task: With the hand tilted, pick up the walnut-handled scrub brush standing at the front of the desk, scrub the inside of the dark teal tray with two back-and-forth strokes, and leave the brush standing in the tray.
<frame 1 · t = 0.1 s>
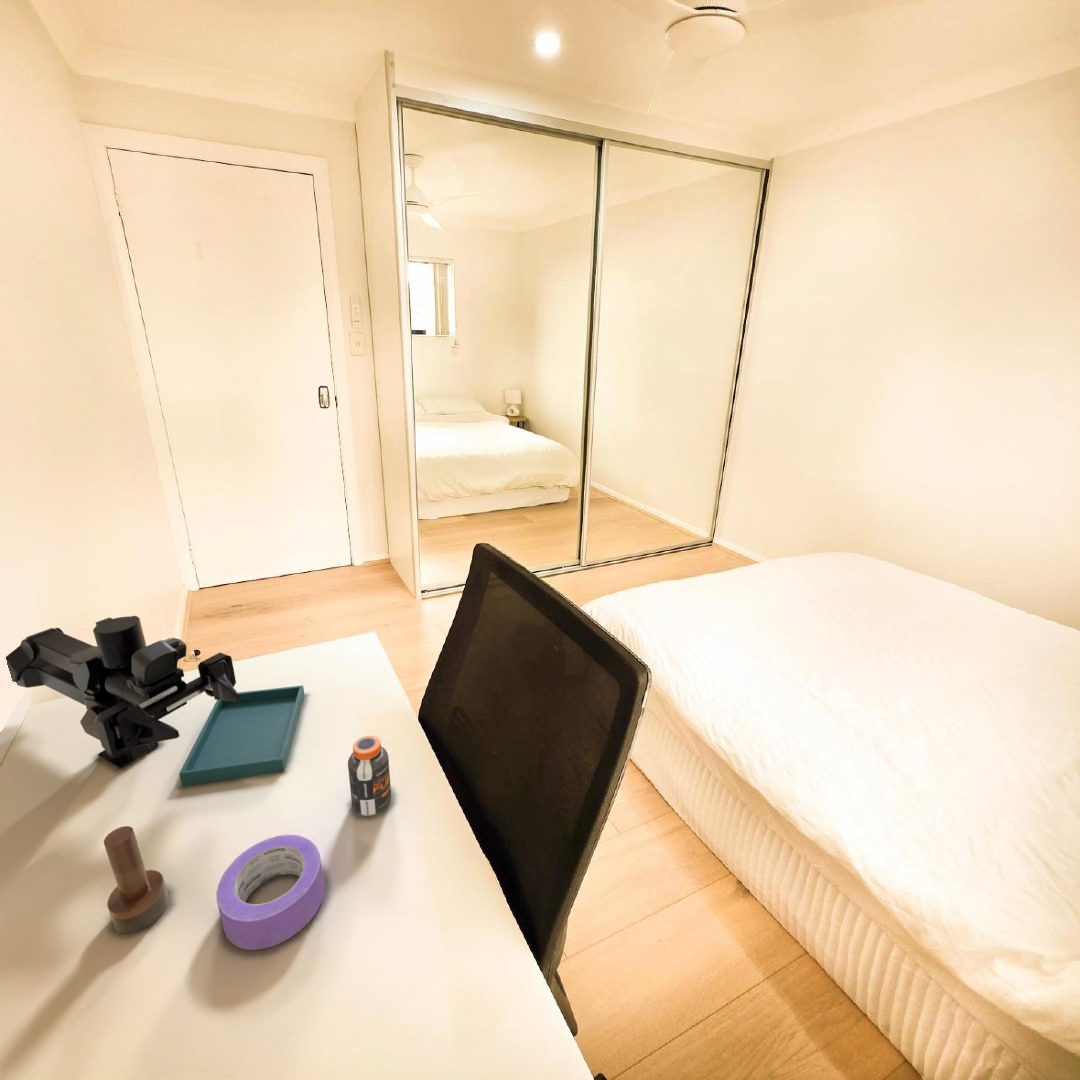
hand: (209, 715, 77), 17 cm above the table, tool horizontal, fingers open, 9 cm apart
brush: (142, 910, 67), on the table
pill bottle: (372, 802, 84), on the table
tray: (250, 735, 97), on the table
tape roll: (275, 903, 68), on the table
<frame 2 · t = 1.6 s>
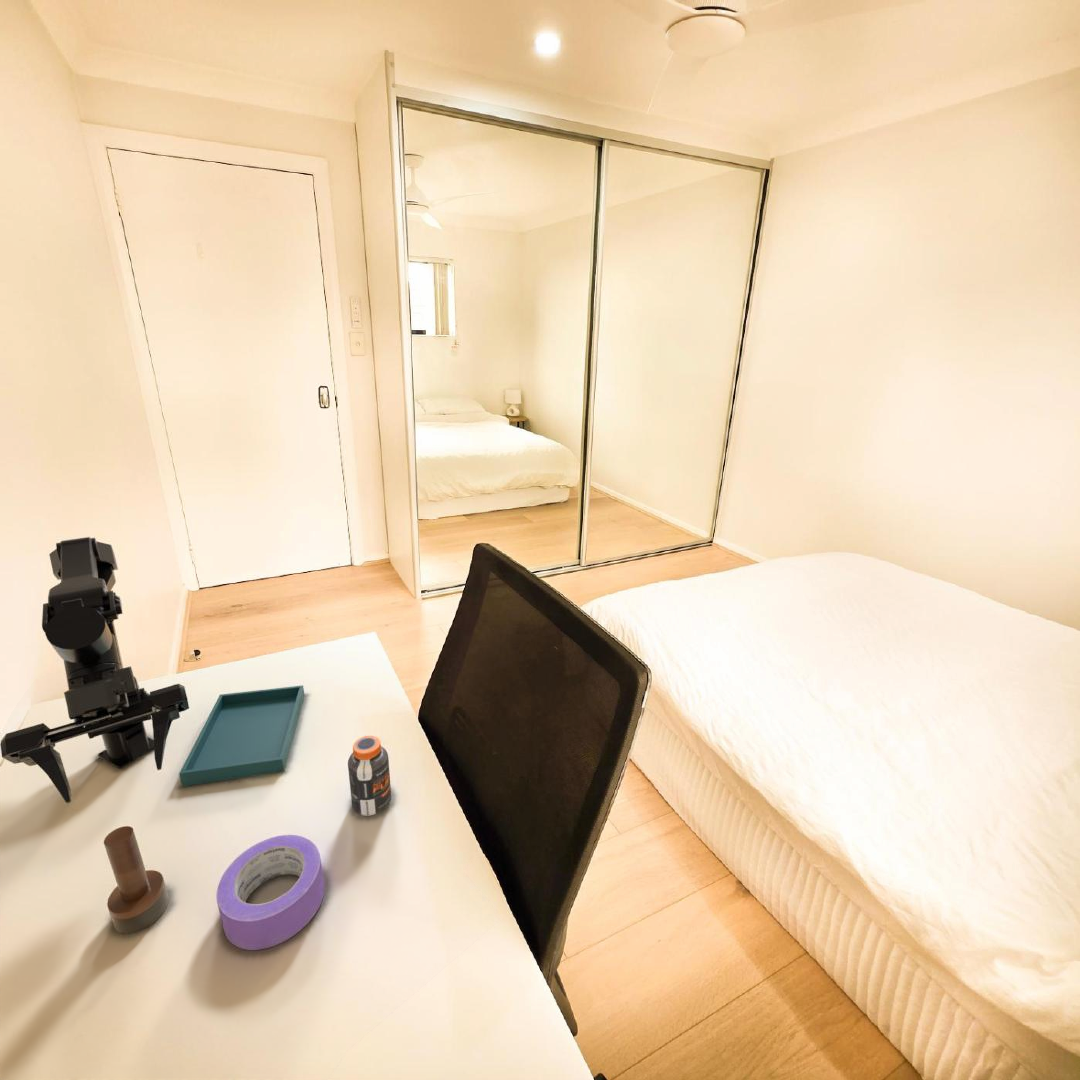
hand: (116, 785, 68), 14 cm above the table, tool tilted 45°, fingers open, 9 cm apart
nothing on the table moved.
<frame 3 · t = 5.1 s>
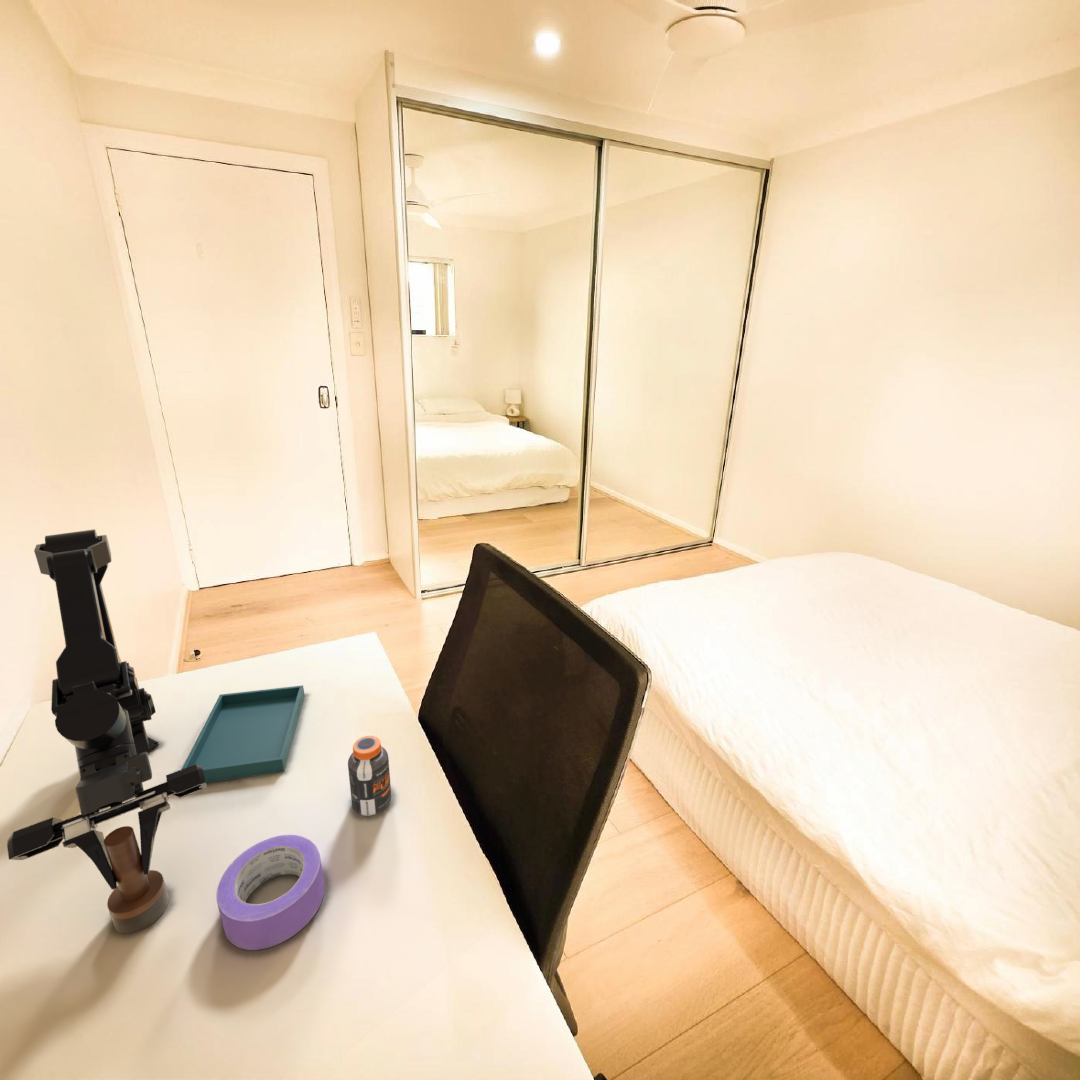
hand: (130, 881, 63), 7 cm above the table, tool tilted 45°, fingers closed on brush, 3 cm apart
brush: (142, 910, 67), on the table, touching gripper
everything else where it was.
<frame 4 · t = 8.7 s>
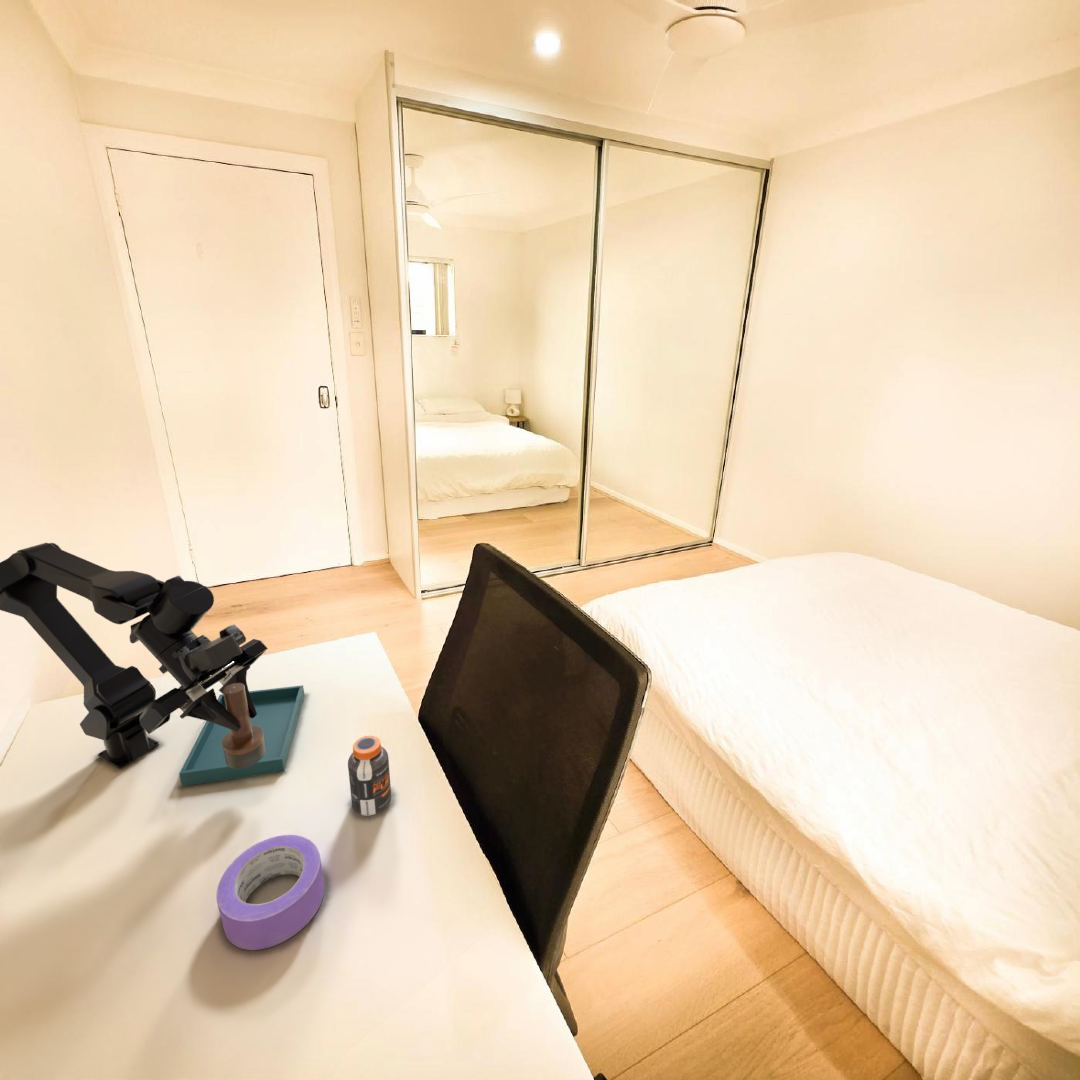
hand: (247, 722, 81), 13 cm above the table, tool tilted 45°, fingers closed on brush, 3 cm apart
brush: (246, 755, 83), point 7 cm above the table, touching gripper
everything else where it was.
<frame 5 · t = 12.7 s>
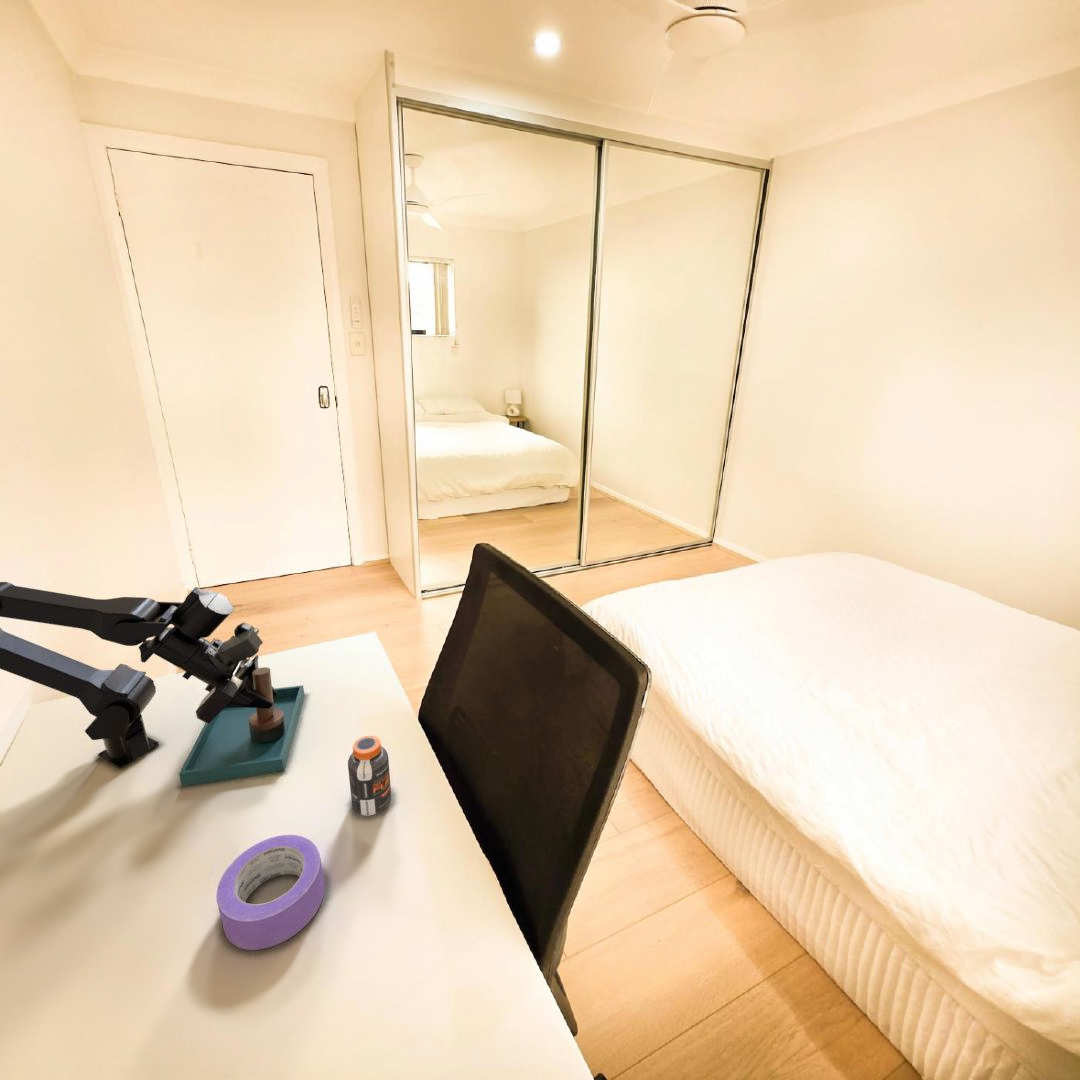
hand: (273, 700, 95), 7 cm above the table, tool tilted 45°, fingers closed on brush, 3 cm apart
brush: (267, 733, 96), point 1 cm above the table, tilted 6°, touching gripper
everything else where it was.
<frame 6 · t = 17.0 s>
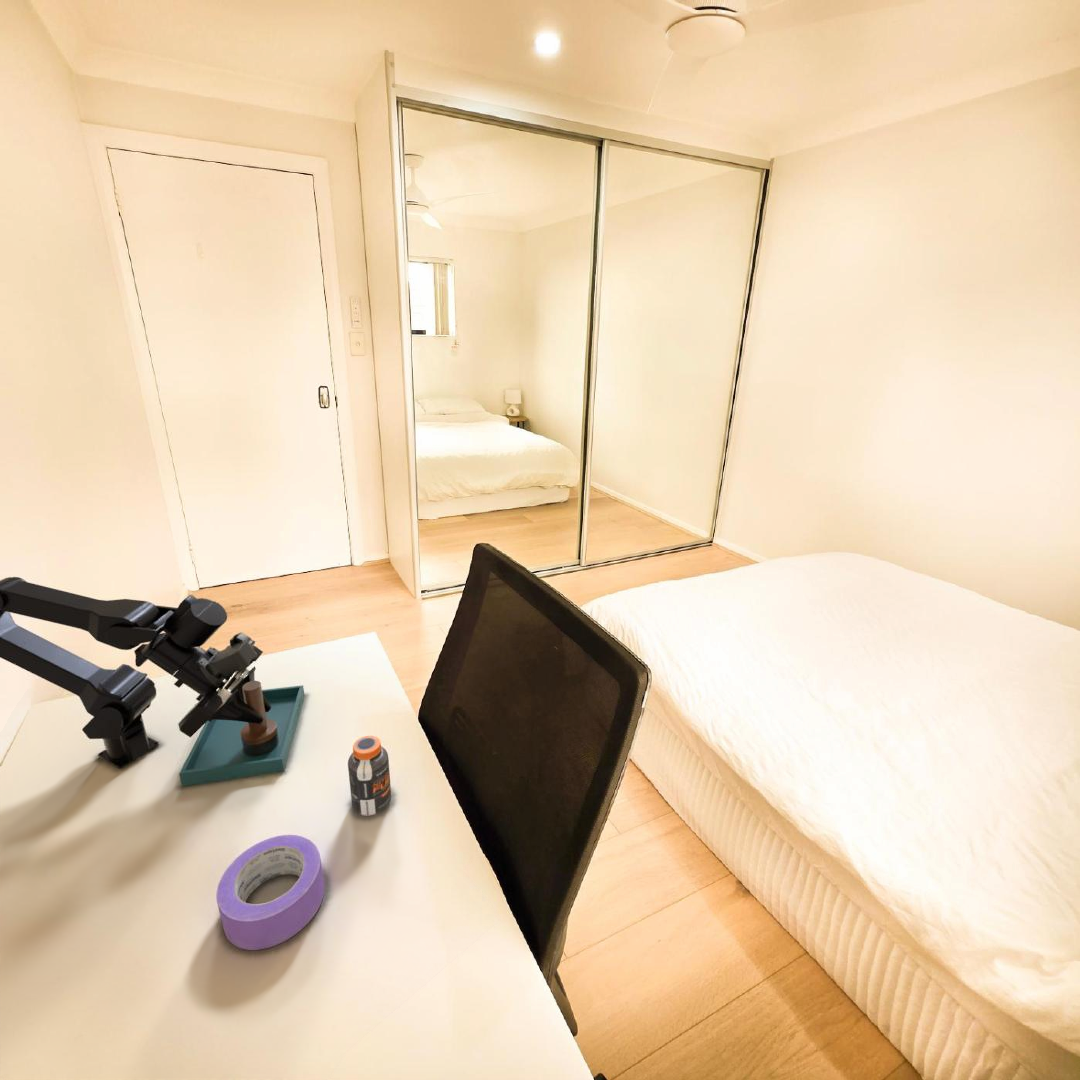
hand: (265, 715, 92), 7 cm above the table, tool tilted 45°, fingers closed on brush, 3 cm apart
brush: (261, 744, 94), point 1 cm above the table, touching gripper
everything else where it was.
when the fingers open (7 cm above the table, at t = 20.6 s): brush stays where it is, resting on tray.
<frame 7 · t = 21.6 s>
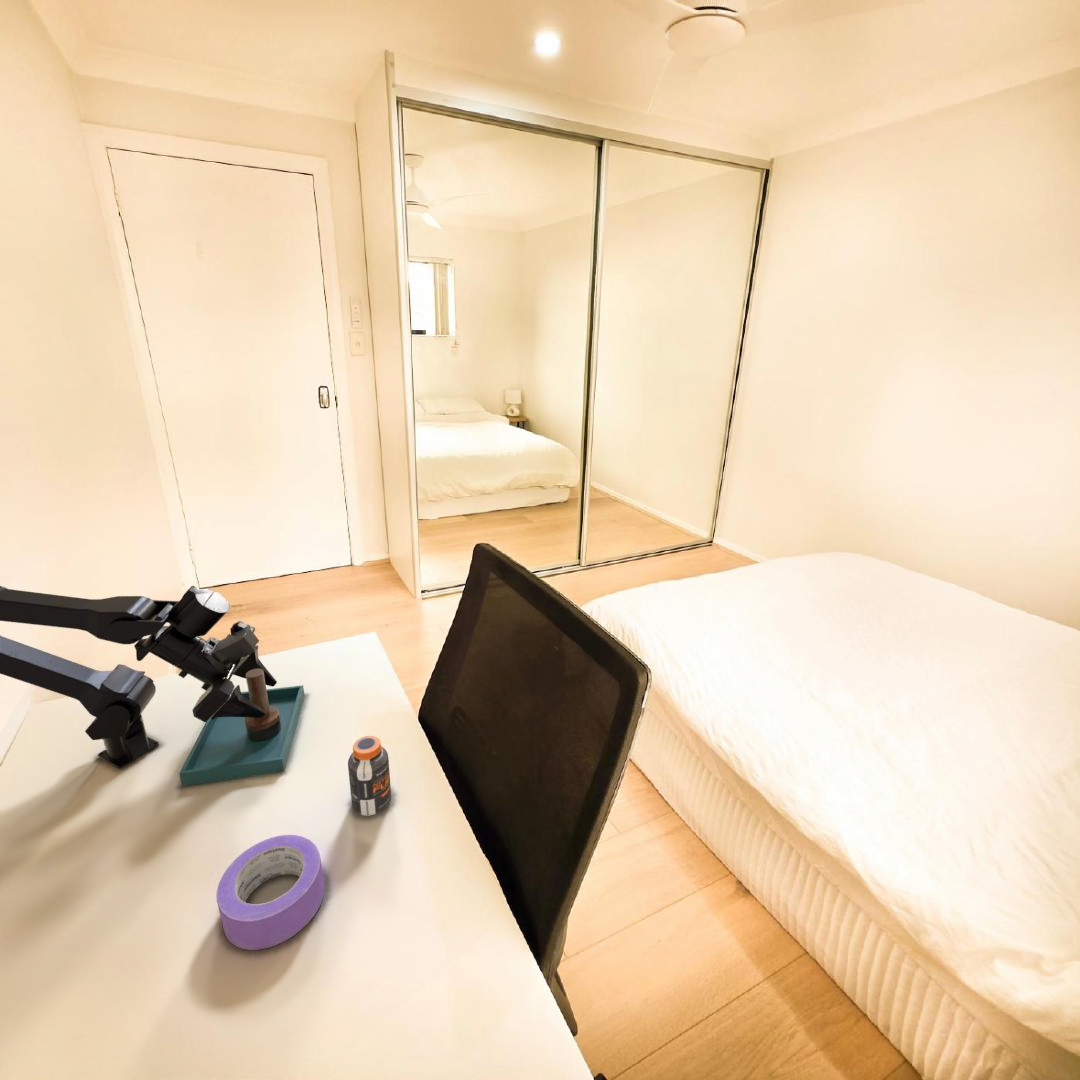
hand: (269, 699, 95), 7 cm above the table, tool tilted 45°, fingers open, 9 cm apart
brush: (264, 731, 97), point 1 cm above the table, touching tray
everything else where it was.
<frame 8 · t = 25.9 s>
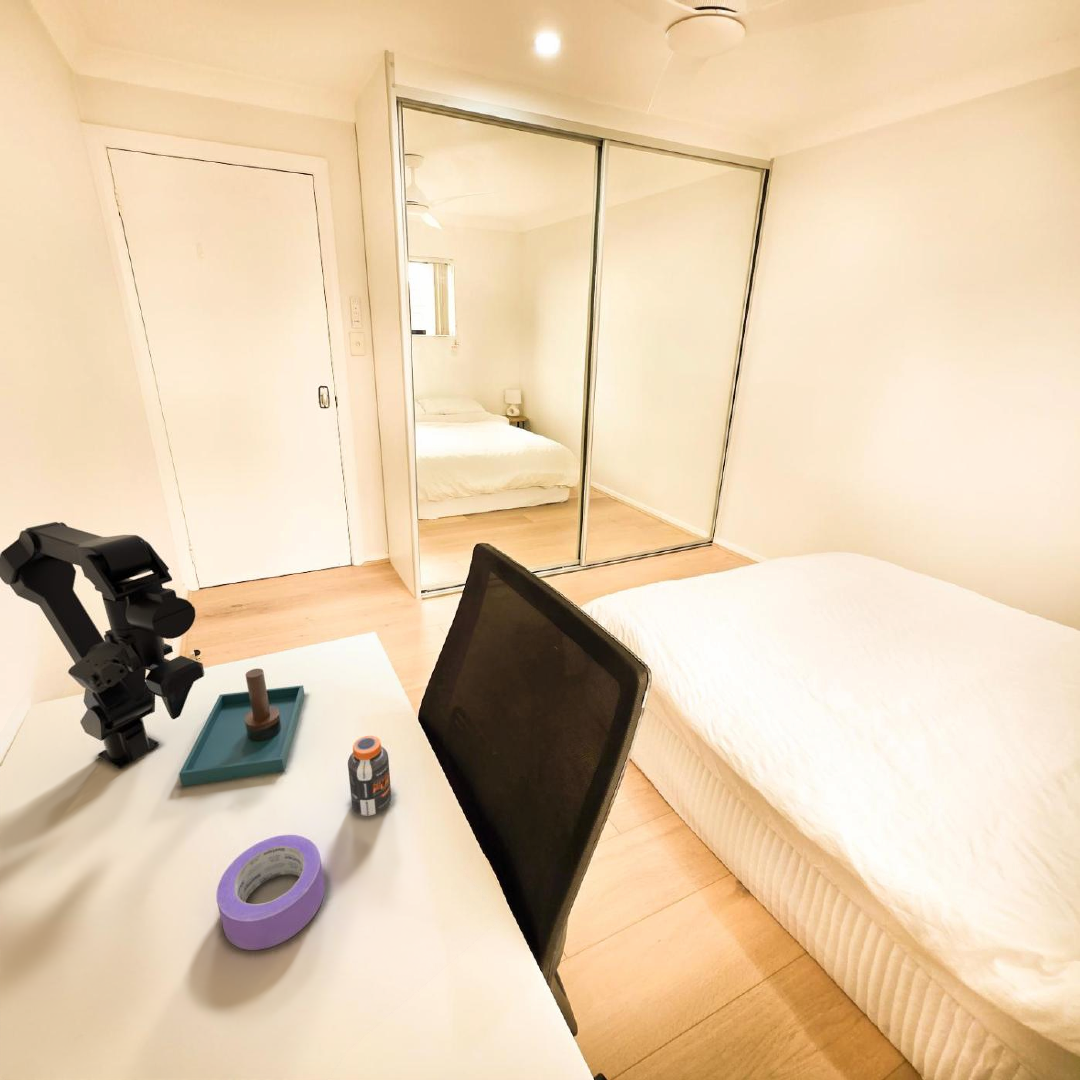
hand: (157, 709, 83), 13 cm above the table, tool pointing down, fingers open, 9 cm apart
nothing on the table moved.
at the end: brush inside the target area in the tray (2.4 cm from its centre), point 0.6 cm above the tray's base; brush tilted 0°; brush moved 32.8 cm from its start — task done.
